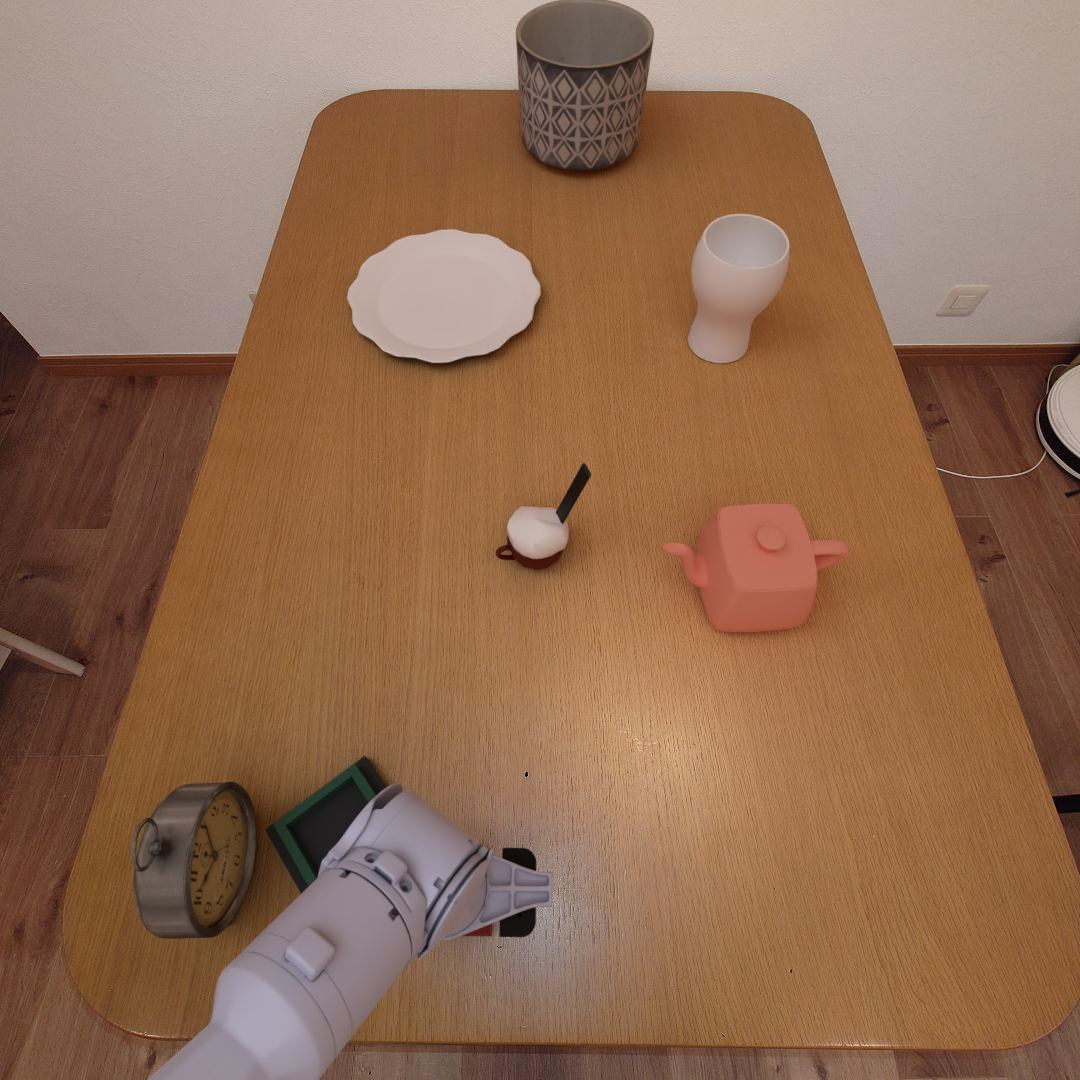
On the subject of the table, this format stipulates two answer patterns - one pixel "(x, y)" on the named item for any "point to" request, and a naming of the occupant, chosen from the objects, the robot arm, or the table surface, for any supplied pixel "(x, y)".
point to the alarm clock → (194, 860)
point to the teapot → (757, 567)
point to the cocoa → (542, 529)
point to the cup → (734, 282)
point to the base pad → (323, 821)
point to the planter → (582, 82)
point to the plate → (444, 296)
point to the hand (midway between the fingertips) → (458, 897)
